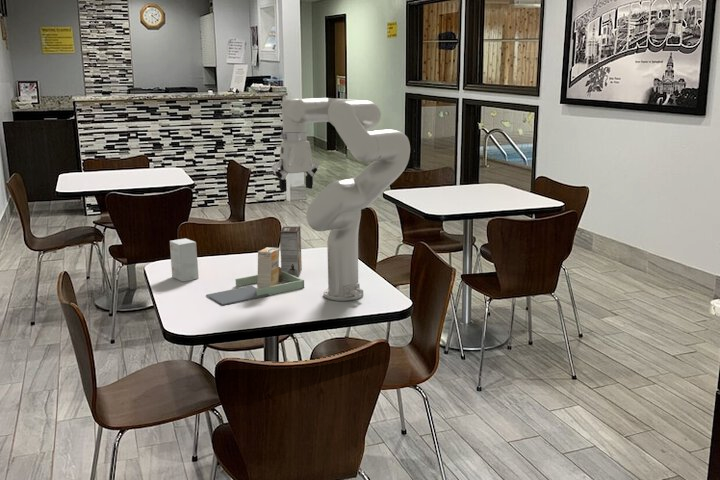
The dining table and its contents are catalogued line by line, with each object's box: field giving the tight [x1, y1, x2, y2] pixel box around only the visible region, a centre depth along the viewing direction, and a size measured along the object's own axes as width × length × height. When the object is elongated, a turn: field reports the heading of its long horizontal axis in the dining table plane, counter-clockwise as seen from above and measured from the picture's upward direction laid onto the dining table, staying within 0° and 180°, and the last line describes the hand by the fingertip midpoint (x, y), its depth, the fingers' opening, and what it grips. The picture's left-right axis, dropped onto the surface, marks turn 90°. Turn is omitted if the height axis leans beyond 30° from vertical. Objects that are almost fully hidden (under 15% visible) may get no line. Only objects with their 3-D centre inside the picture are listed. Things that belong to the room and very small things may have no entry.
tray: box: [235, 271, 305, 296], centre depth 235 cm, size 15×17×2 cm
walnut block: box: [278, 266, 283, 284], centre depth 241 cm, size 4×4×5 cm
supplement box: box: [256, 247, 280, 289], centre depth 231 cm, size 8×5×13 cm, turn 168°
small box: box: [169, 237, 199, 283], centre depth 246 cm, size 8×6×13 cm
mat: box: [205, 285, 270, 306], centre depth 226 cm, size 12×16×1 cm
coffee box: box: [279, 225, 303, 278], centre depth 249 cm, size 9×6×16 cm
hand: (296, 189), depth 235 cm, fingers open, 9 cm apart
